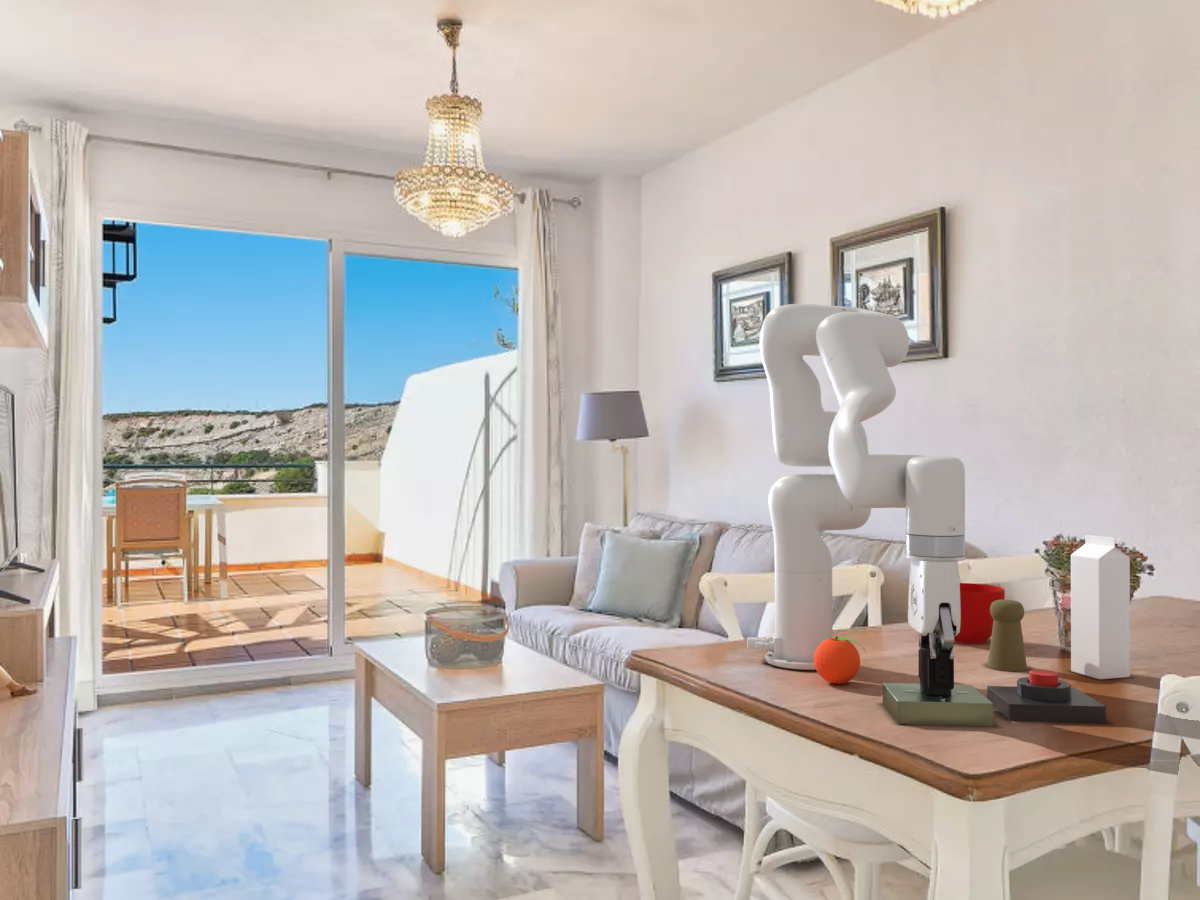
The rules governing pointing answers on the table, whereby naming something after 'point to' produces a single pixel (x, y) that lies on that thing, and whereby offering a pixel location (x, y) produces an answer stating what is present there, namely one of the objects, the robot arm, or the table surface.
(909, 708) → the dial panel
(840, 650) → the clementine
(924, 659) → the cylinder
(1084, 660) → the milk
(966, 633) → the ceramic cup
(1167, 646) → the table surface
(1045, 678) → the button
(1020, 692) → the switch block
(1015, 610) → the cork
